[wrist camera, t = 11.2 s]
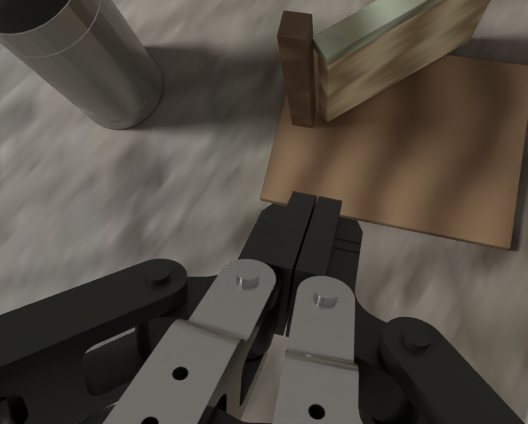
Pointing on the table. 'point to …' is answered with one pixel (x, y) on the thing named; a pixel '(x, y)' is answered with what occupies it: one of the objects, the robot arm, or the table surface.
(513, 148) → the gate base
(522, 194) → the table surface
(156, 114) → the table surface
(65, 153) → the table surface
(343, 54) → the gate leaf
